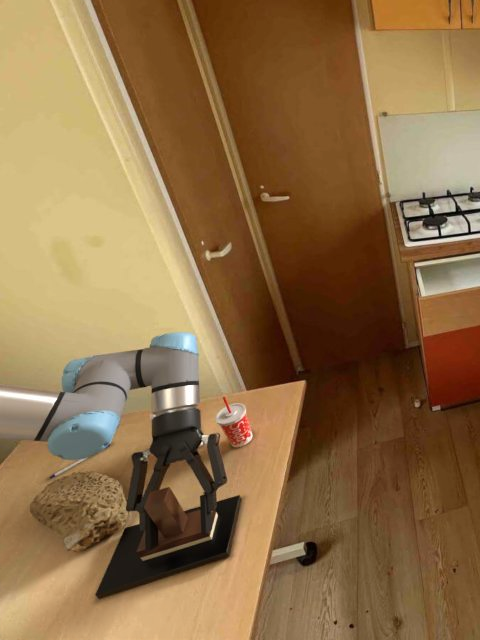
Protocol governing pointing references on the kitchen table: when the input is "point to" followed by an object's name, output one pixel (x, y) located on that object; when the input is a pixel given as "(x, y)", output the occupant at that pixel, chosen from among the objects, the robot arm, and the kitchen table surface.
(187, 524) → the brown block
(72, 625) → the kitchen table surface
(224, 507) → the panel
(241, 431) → the beverage cup
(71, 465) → the ballpoint pen
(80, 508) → the sponge
